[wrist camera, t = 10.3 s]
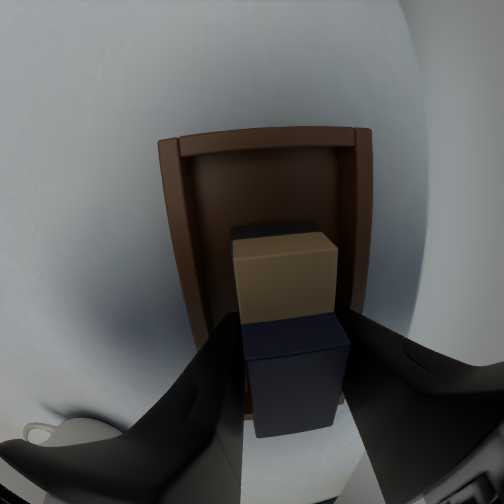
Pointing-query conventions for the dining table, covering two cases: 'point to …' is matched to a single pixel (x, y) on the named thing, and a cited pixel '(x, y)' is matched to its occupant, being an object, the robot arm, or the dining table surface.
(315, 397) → the stacked boxes
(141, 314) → the dining table surface
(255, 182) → the tray
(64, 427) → the teacup
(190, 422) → the robot arm
